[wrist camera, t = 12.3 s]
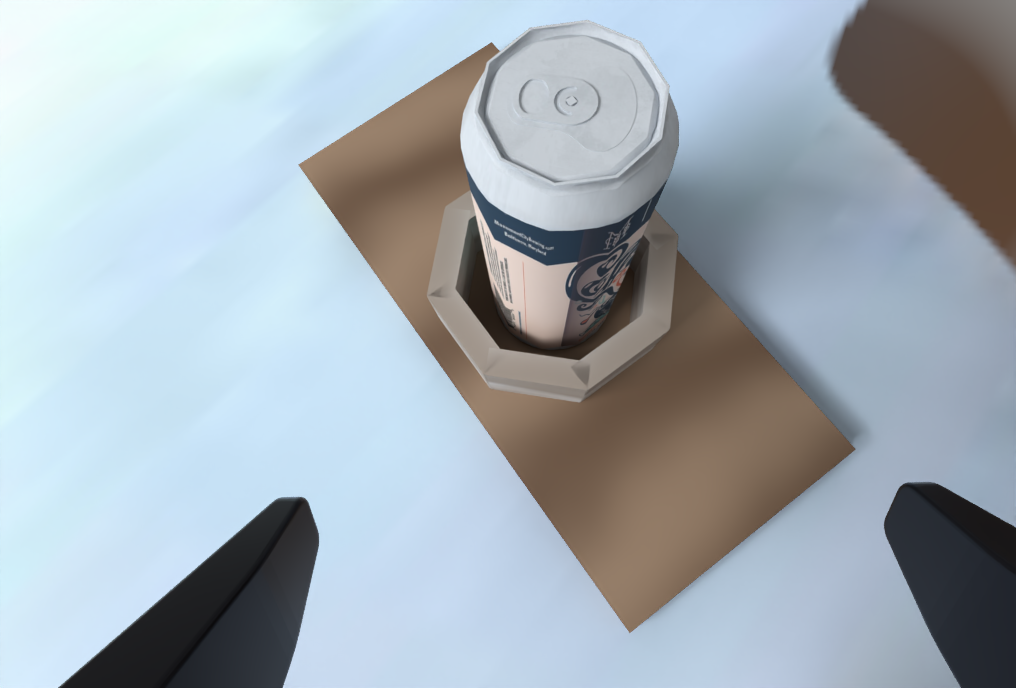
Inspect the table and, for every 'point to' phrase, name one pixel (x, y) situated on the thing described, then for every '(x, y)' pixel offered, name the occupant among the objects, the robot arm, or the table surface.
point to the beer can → (565, 173)
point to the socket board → (634, 431)
